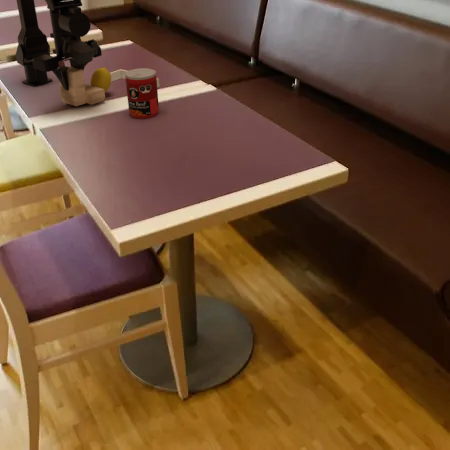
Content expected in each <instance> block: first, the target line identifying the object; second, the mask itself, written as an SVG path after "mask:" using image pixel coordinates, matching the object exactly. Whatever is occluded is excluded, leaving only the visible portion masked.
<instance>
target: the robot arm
mask: <svg viewBox="0 0 450 450" xmlns="http://www.w3.org/2000/svg"><path fill="white" fill-rule="evenodd" d="M44 1H45V3H46V4H47V6H46V8H47V9H48V10H49V17H50V23H51V28H52V29H51V30H52V32H51V33H49V35H50V38H51V39H53V41H54V47H55V48H53V49H52V54H54V55H51V46H50V44H49V42H48V36H47V35H46V34H45V33H44V32H43V31H42V30H41V29H40V27H39V22H38V17H37V10H36V4H35V0H16V4H17V10H18V16H19V22H20V27H21V29H19V30H20V31H19V32H18V33H19V34H18V36H17V46H16V47H17V48H16V50H15V51H16V52H15V55H14V56H15V59H16V62H17V64H19V65H21V66H22V67H23V69H24V74H25V79H24V80H22V83H23V84H26V85H29V86H32V87H38V86H41V85H43V84H48V83H50V82H53V79H52V78H49V77H48V73H49V72H52V73H53V74H54V75H55V77H56V78H57V80H58V81H60V82H59V84H60V83H61V84H62V86H63V87H64V89H65V90H66V91H68V90H69V86H68V79H67V70H68V68H69V67H67V65H66V63H65V62H67V61H69V64H70V67H74V68H77V69H81V70H83V72H84V70H85V68H86V66H87V65H88V64H89V63H90V62H93V59H94V58H98V57H103V56H102V55H103V51H102V48H101V46H100V45H99V44H98V42H97V40H95V39H94V38H93V39H89V40H84V41H83V40H82V39H81V38H83V37H85V36H87V35H88V33H89V32H90V30H91V24H92V23H91V20H90V18H89V17H88V15H86V14H85V13H84V12H82V8H81V7H83V3H82V0H44Z"/></svg>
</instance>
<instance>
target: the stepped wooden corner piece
mask: <svg viewBox="0 0 450 450" xmlns="http://www.w3.org/2000/svg"><path fill="white" fill-rule="evenodd" d="M66 67H69V68H68V70H67V79H68V86H69V90H68V91H66V90H65V89H64V87H63V86H62V84H61V83H60V81H59V80H58V81H59V88H60V96H61V102H62V103H65V104H69V105H70V106H74V107H78V106H82V105H84V104H88V105H94V104H96V103H101V102H103V101H106V94H105V93H106V92H105V90H104V89H102V88H98V87H95V86H91V84H87V83H85V75H84V71H83V70H81V69H77V68H74V67H71V65H70V66H69V65H66Z"/></svg>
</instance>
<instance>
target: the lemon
mask: <svg viewBox="0 0 450 450" xmlns="http://www.w3.org/2000/svg"><path fill="white" fill-rule="evenodd" d="M110 73H111V72H110V71H109V70H108V69H107V68H106V67H102V68H101V67H100V68H97V69H95V70H94V71H93V73H92V75H91V78H90V79H91V80H90V85H91V86H95V87H98V88H102V89H104V90H105V93H107V92H108V91H109V90H110V87H111V85H112V82H111V75H110Z"/></svg>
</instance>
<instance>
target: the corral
mask: <svg viewBox="0 0 450 450" xmlns="http://www.w3.org/2000/svg"><path fill="white" fill-rule="evenodd" d="M128 71H129V70H126V69H121V68H120V69H117V70H115V71H111V72H109V73H110V75H111V83H112V82H114V81H118V80H120V79H122V80H126V78H125V76H126V75H125V74H126V72H128ZM90 81H91V78H90ZM158 88H160V79H159V78H158V77H157V89H158Z"/></svg>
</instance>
